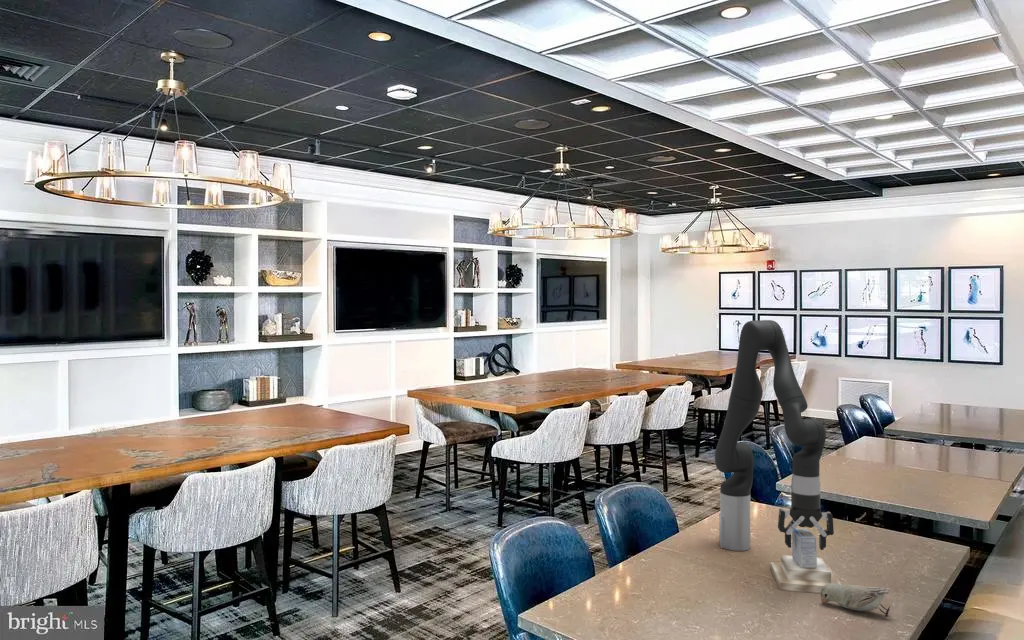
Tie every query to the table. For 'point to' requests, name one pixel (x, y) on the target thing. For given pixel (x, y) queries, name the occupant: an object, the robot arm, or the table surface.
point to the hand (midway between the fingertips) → (805, 548)
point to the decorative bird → (854, 596)
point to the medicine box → (804, 548)
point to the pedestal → (802, 575)
